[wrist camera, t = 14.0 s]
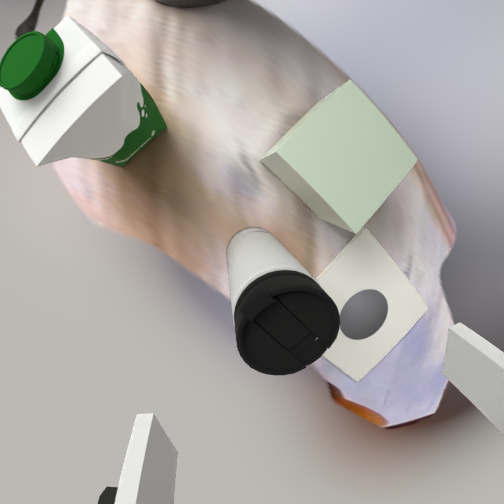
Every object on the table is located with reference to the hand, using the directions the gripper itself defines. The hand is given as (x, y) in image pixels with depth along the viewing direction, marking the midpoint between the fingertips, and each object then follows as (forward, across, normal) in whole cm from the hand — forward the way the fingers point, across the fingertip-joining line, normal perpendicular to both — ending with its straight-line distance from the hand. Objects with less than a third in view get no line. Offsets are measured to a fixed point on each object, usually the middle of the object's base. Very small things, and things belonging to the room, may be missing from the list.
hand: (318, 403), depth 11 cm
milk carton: (+25, -11, +18) cm, 33 cm away
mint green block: (+25, +10, +9) cm, 29 cm away
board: (+25, +13, -12) cm, 31 cm away
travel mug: (+25, 0, 0) cm, 25 cm away
